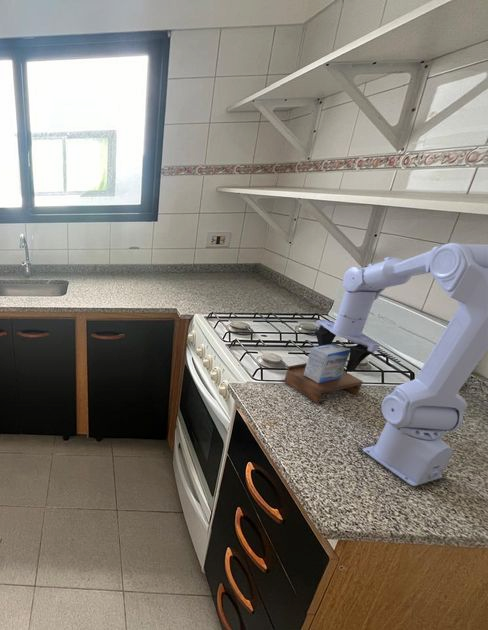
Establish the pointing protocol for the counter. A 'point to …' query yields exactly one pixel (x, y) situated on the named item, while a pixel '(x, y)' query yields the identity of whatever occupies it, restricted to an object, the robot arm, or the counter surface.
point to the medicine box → (326, 362)
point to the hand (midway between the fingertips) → (335, 362)
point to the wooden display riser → (314, 389)
